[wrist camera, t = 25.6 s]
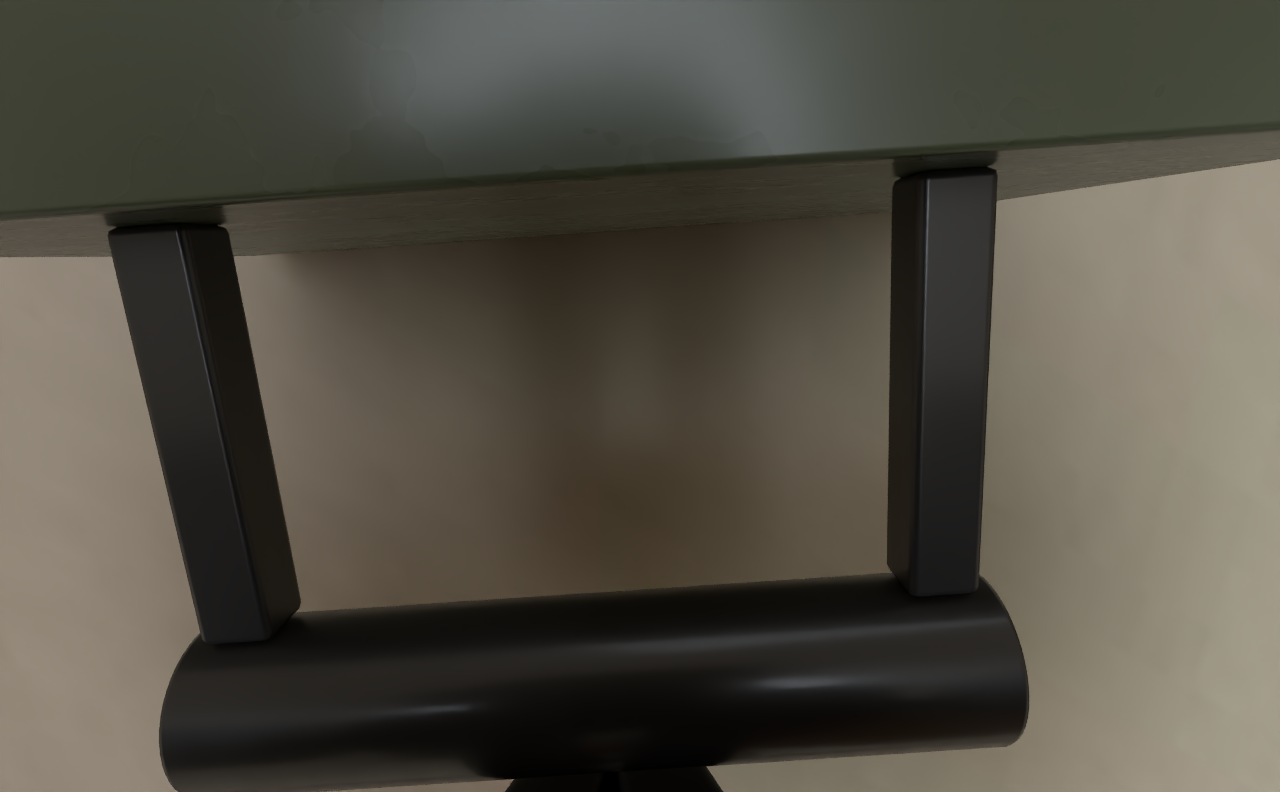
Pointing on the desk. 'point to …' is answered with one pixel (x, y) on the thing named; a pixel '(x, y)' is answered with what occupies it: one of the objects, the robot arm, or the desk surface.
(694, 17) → the drawer
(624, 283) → the desk surface
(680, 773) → the robot arm
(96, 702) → the desk surface
